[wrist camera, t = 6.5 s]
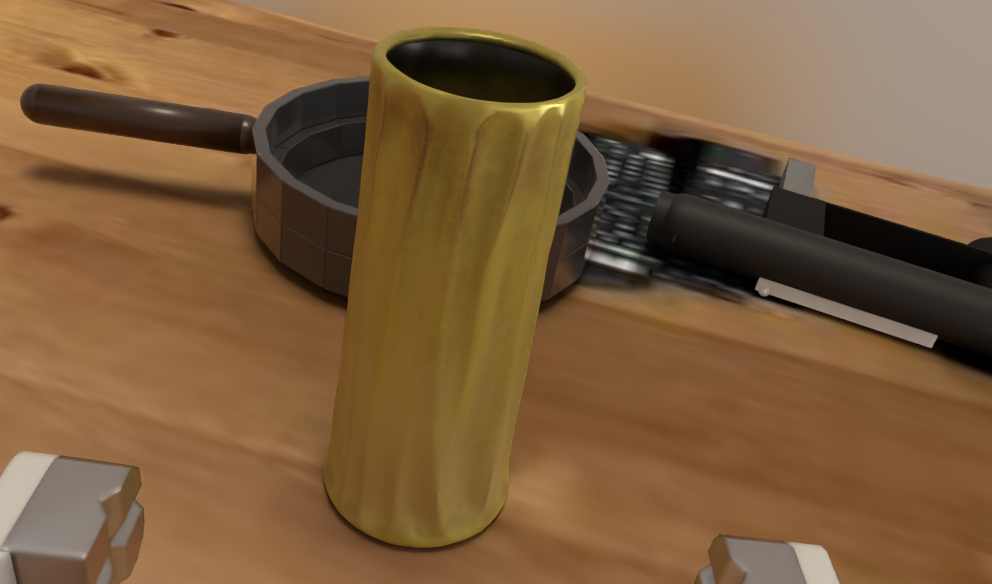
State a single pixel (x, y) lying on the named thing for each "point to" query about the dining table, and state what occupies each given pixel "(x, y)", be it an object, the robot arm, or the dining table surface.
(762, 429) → the dining table surface
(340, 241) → the pan
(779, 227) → the gun
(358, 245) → the vase
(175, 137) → the pan handle
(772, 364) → the dining table surface
